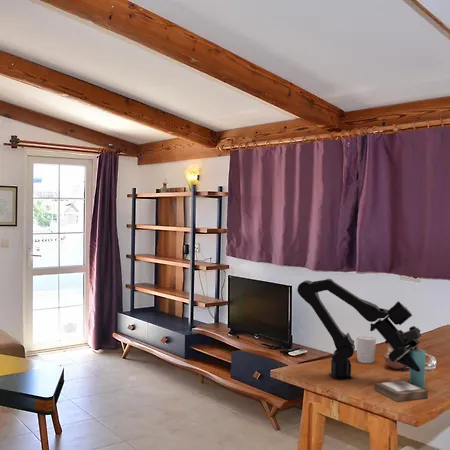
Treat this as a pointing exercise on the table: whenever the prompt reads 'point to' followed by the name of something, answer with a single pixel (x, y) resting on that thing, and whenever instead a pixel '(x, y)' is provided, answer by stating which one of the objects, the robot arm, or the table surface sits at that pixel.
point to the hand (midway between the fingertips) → (421, 369)
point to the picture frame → (401, 390)
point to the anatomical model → (395, 364)
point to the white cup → (365, 348)
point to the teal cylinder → (419, 358)
